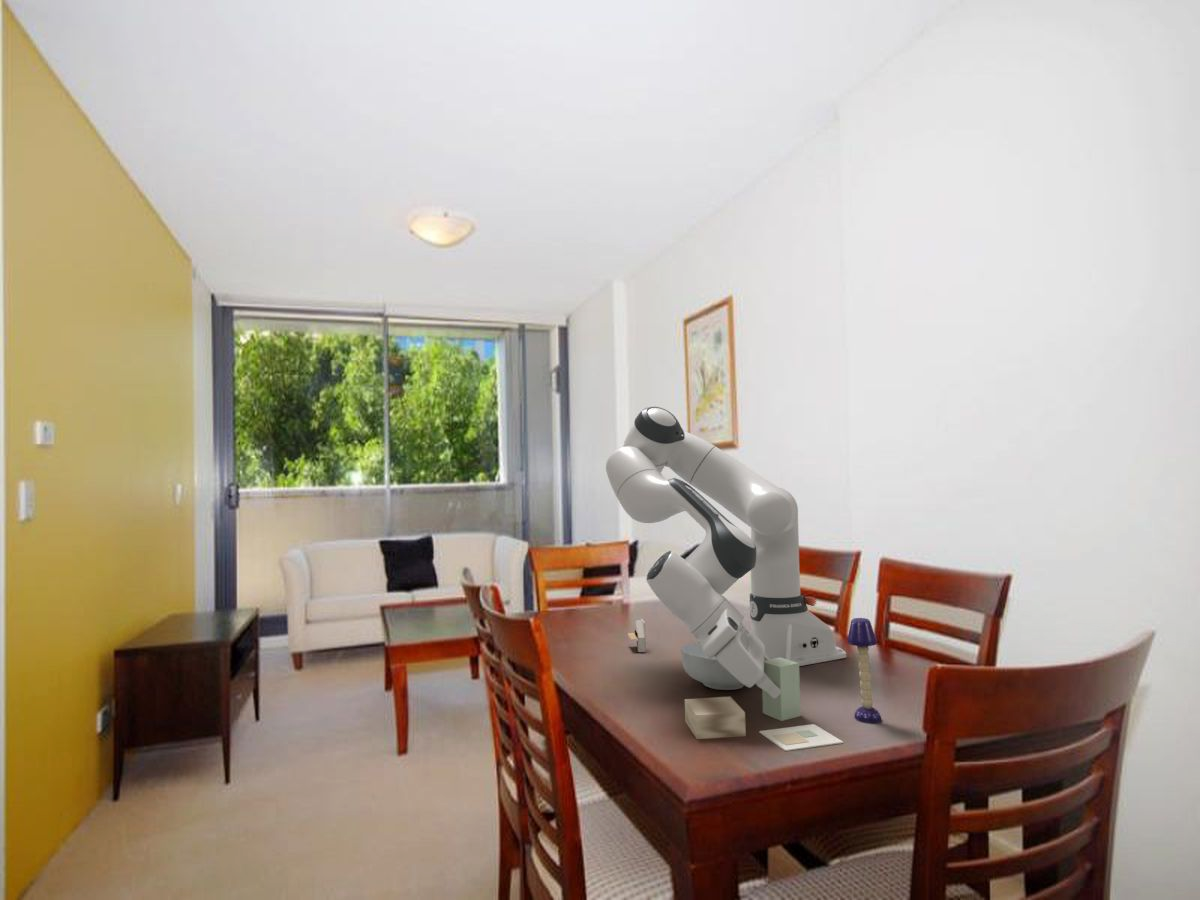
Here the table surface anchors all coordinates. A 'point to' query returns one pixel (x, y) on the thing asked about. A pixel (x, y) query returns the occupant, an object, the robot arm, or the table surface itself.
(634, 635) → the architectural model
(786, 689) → the column brick
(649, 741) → the table surface
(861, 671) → the toy lamp
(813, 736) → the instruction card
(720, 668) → the cereal bowl
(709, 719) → the base brick
